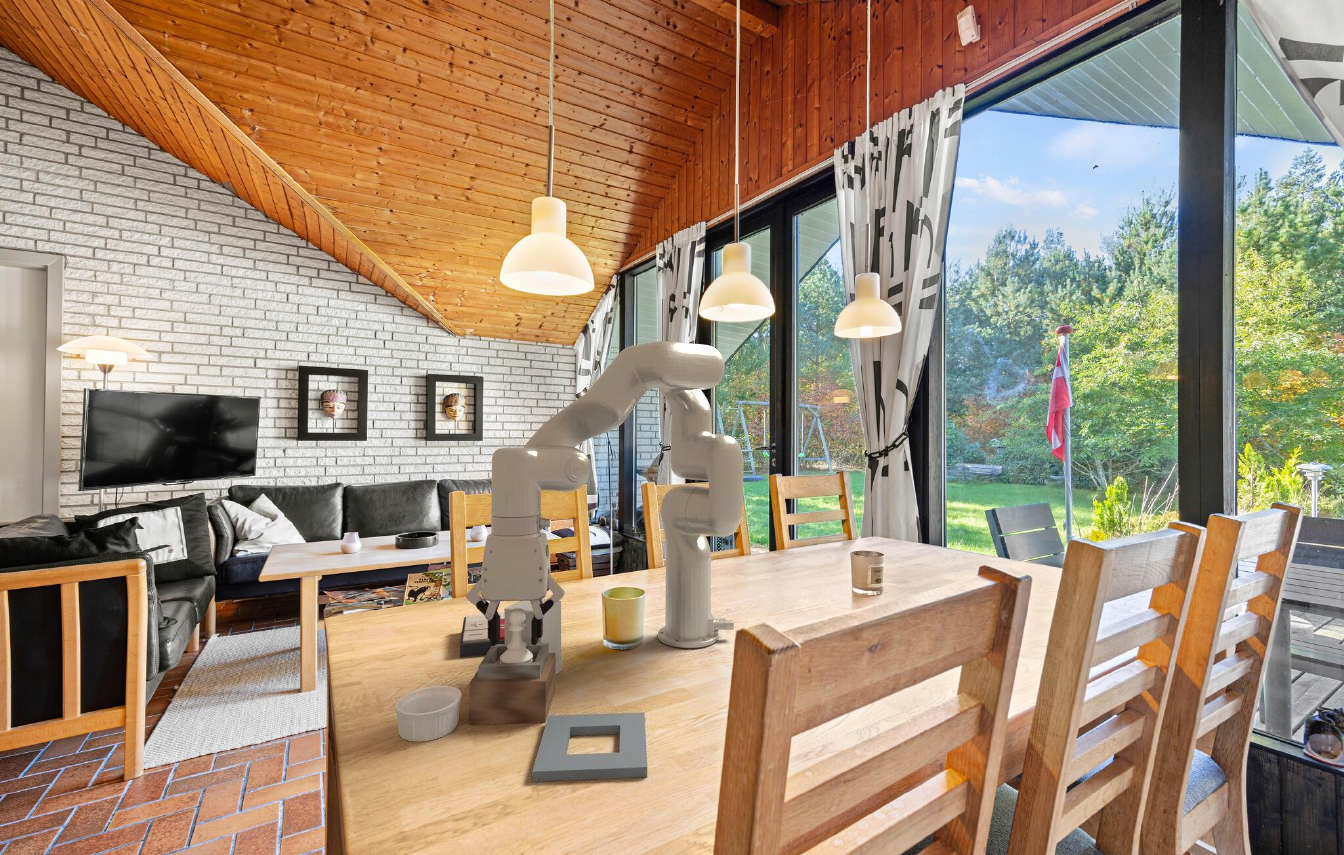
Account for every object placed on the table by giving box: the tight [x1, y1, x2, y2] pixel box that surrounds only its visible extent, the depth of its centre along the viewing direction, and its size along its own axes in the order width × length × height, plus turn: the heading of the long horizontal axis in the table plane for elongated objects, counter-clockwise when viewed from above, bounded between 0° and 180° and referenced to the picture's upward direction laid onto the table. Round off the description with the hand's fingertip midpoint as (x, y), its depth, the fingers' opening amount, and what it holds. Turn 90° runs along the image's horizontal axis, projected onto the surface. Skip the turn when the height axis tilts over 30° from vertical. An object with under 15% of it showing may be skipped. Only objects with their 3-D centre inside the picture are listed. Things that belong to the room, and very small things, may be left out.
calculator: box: [459, 612, 505, 659], centre depth 117 cm, size 11×4×15 cm
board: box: [531, 711, 648, 782], centre depth 77 cm, size 14×14×1 cm
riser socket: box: [468, 643, 556, 726], centre depth 89 cm, size 11×11×8 cm
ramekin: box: [394, 685, 463, 742], centre depth 82 cm, size 9×9×4 cm
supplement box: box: [503, 598, 562, 676], centre depth 100 cm, size 7×7×13 cm
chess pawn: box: [500, 608, 533, 663], centre depth 89 cm, size 5×5×9 cm
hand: (515, 641), depth 89 cm, fingers open, 5 cm apart
